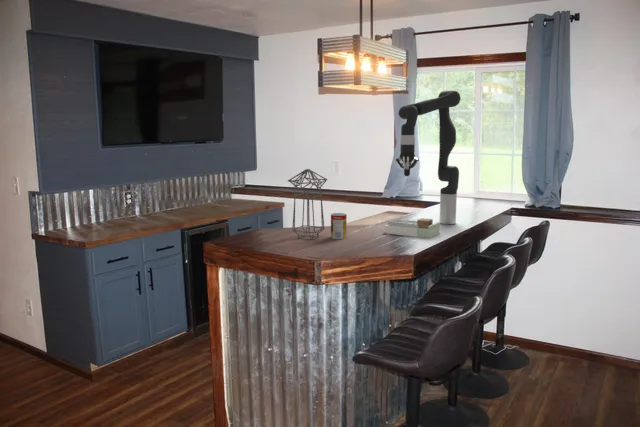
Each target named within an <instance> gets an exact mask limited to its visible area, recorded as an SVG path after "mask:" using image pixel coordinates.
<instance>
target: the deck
mask: <svg viewBox="0 0 640 427" xmlns="http://www.w3.org/2000/svg"><path fill="white" fill-rule="evenodd" d="M440 227H441V223H440V222H439V221H438V222H435V223H433V224H432V225H430V226H428V229H426V228H410V227H400V226H391V225H388V224H385V225H384V234H388V235H389V234H390V235H398V236H407V237H416V238H424V237H425V238H426V239H430V238H433V237H435V236H438V235H440V232H441V230H440V229H441V228H440Z"/></svg>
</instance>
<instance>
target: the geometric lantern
mask: <svg viewBox="0 0 640 427" xmlns="http://www.w3.org/2000/svg"><path fill="white" fill-rule="evenodd" d="M307 175H308V177H307ZM317 176H318V177H320V178H318V177H317ZM293 179H294V180H293ZM305 180H306V181H308V182H304V181H305ZM312 181H313V182H312ZM327 181H328V178H327V177H324V176H323V175H320V174H318V173H317V172H316V171H315V172H314V171H313V170H312V169H310V168H306V169H304V170H303V171H301V172H299V173H298V174H296V175H295V176H292V177H291V178H290V179H288V180H287V182H289V183H290V184H292V185H293V186H294V188H293V197H294V201H293V214H292V217H293V218H292V228H291V229H292V231H293V233H295V234H296V235H297V239H299V240H308V241H312V240H316V239H318V238H319V234H320V233H321V232H323V231H324V230H325V220H324V218H325V217H324V209H323V206H324V205H323V197H322V196H323V194H322V187H323V186H324V185H325V183H326V182H327ZM304 184H305V185H304ZM302 185H304V186H302ZM309 185H311V186H310V187H309V189H308V190H307V192H306V190H305V189H304V188H306V187H308V186H309ZM313 186H315V187H316V189H315V192H314V193H312V195H313V196H312V197H310V196H309V195H310V193H309V192H310V191H311V189H312V187H313ZM296 189H297V191H296ZM299 190H302V191H303V192H302V193H299V194H298V192H299ZM318 190H319V192H320V194H319V193H317V191H318ZM300 195H303V196H300ZM315 195H316V196H315ZM299 196H300V198H303V199H302V200H303V201H302V202H303V204H302V221H301V222H302V224H301V226H297V227H296V198H299ZM317 197H318V198H319V197H320V213H321V216H320V218H321V226H316V225H315V214H314V212H315V210H314V199H315V198H317ZM305 199H306V217H307V218H306V225H304V222H305V221H304V219H305V216H304V215H305V214H304V213H305ZM310 199H311V205H312V206H311V207H312V222H313V223H312V225H310V224H311V223H310ZM304 227H306V230H305V229H304ZM300 228H302V229H303V230H297V229H300ZM311 228H313V231H311V230H310V229H311ZM316 228H317V229H318V230H316ZM307 234H308V235H307ZM311 234H312V235H311ZM303 237H309V238H303Z"/></svg>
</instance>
